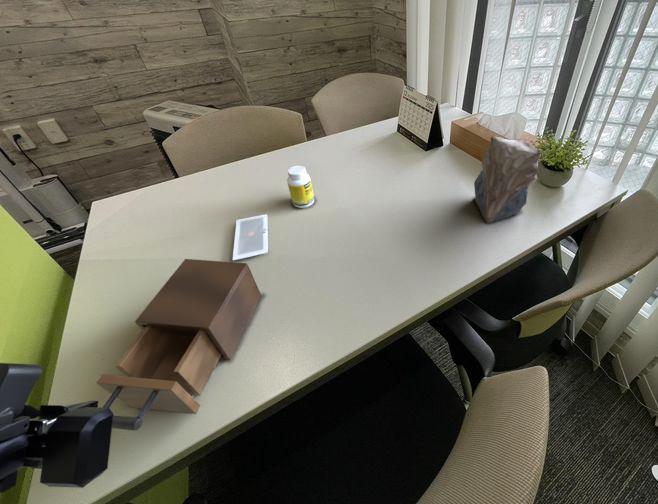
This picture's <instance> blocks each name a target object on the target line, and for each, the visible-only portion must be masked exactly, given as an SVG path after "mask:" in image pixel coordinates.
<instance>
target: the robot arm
mask: <svg viewBox="0 0 658 504" xmlns="http://www.w3.org/2000/svg"><path fill="white" fill-rule="evenodd" d="M42 375H43V367H42V365H41V364H38V363H15V362H14V363H13V362H12V363H11V362H8V363H7V362H0V494H4V493H5V492H7V491H8V490H10V489H12V488H14V487H15V486H16V485H17V479H18V472H19V470H20V469H22V468H30V469H34V470H35V469H37V470H41V472H40V479H39V483H40V484H41V485H44V486H47V487H50V488H51V487H52V488H78V489H79V488H81V489H83V488H85V487H86V486H87V485H89V484H90V483H91V482H93V481H95V480H96V479H97V478H99V477H101V476H102V475H103V474H104V473H105V472H106V471H107V470H108V467H109V458H110V451H111V441H112V439H111V438H112V431H113V428H112V423H113V415H114V412H113V411H112V410H111V407H110V408H105V407H103V406H102V407H101V406H100V407H98V406H99V400H87V401H82V402H78V403H72V404H67V405H62V404H61V405H60V404H57V405H56V404H40V405H39V408H36V407H34V406H32V405H30V404H27V402H28V400H29V397H30V395H31V394H32V392H33V389H34V387H35V386H36V383H37V382H39V380H40V379H41V377H42Z"/></svg>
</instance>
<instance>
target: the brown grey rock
mask: <svg viewBox="0 0 658 504" xmlns="http://www.w3.org/2000/svg"><path fill="white" fill-rule="evenodd" d="M542 152H543V150H542V149H539V148H536V147H534V146H533V145H531V144H530V143H529V142H528V141H526V140H523V139H519V140H516V139H511V138H510V139H506V138H503V137H501V136H495V135H494V136H493V135H492V136H491V137H490V144H489V146H488V147H487V148H486V149H485V150H484V152H483V154H482V160H481V168H482V170H480V172H479V174H478V175H477V177H476V178H475V180H474V182H473V185H474V202H475V204H476V205H477V208H478V209H479V211H480V213H481V216H482V218H483V219H484V221H485V222H486V224H490V223H495V222H497V221H501V220H502V219H507V218H510V217H511V216H517V215H519V214H520V212H521V210H522V208H524V206H525V205H526V204H527V202H528V194H529V188H530V186H531V184H532V183H533V181H535V180H536V175H537V174H538V171H539V159H540V157H541V154H542Z"/></svg>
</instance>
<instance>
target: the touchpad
mask: <svg viewBox="0 0 658 504" xmlns="http://www.w3.org/2000/svg"><path fill="white" fill-rule="evenodd" d="M268 225H269V224H268V213H266V214H260V215H256V216H250V217H245V218H240V219H236V222H235V230H234V231H235V233H234V243H233V253H232V261H237V260H241V259H246V258H251V257H255V256H259V255H263V254H269V233H268V231H269V229H268Z"/></svg>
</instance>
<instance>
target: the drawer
mask: <svg viewBox="0 0 658 504" xmlns="http://www.w3.org/2000/svg"><path fill="white" fill-rule="evenodd" d="M221 355H222V353H221V351H220V350H219V348H218V347H217V346H216V344H215V343H214V341H213V340H212V338H211V337H210V335H209V334H208V333H207V331H206V330H199V329H187V328H175V327H164V326H152V325H146V326H145V328H144V329H143V330H142V329H141V331H140V333H139V334H138V336H137V337H136V338H135V339H134V341H133V342H132V343H131V345H130V346H129V347H128V348H127V349H126V351H125V353H123V355H122V356H121V358H120V359H119V360H118V362H117V363H116V364H115V365H114V366H115V368H116V369H118V370H119V371H120V372H121V373H123V374H124V375H114V374H104V373H103V374H101V375H100V377H99V378H98V379H97V380H96V382H95V383H96V384H97V385H99V386H100V387H101V388H102V389H104V390H105V391H106V392H108V393H109V394H110V395H109V397H108V399H107V400H106V401H105V403H104V404H103V405H102V407H105V408H110V409H111V407H112V405H113V404H114V403H115V401H116V399H117V400H118V401H119V402H121V403H123V404H124V405H125V406H126V407H128V408H136V409H140V410H139V412H138V414H137V415H136V416H135V417H133V416H125V415H116V414H113V423H112V429H114V430H122V431H123V430H124V431H133V432H136V431H139V429H141V427H142V425H143V423H144V419H143V418H144V417H145V415H146V414H147V412H148V411H149V410H156V411H164V412H175V413H184V414H194V415H196V414H197V413H198V411H199V409H200V407H201V405H200V404H199V403H198V402H197V401H196V399H194V398H193V396H201V395H202V393H203V391H204V389H205V387H206V385H207V384H208V381H209V379H210V378H211V376H212V374H213V372H214V370H215V368H216V367H217V364H218V362H219V361H220V360H221V359H220V357H221Z"/></svg>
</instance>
